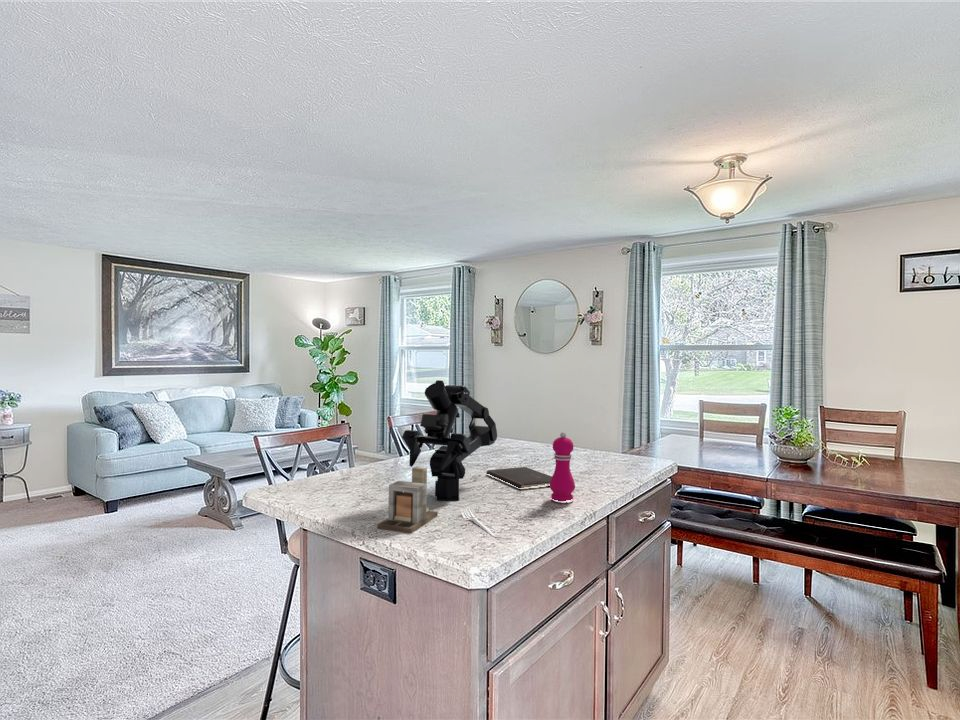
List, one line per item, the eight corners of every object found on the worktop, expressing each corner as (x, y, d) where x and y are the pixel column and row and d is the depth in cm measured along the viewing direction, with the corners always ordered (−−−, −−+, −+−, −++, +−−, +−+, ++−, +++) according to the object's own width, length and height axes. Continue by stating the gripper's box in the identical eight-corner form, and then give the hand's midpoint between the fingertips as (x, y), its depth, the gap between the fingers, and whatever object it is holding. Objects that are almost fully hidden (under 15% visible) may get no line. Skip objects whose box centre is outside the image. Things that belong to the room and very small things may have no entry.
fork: (490, 542, 116) (490, 534, 116) (458, 515, 134) (458, 508, 134) (503, 540, 117) (503, 532, 117) (469, 514, 135) (470, 506, 135)
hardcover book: (525, 473, 188) (525, 466, 188) (562, 487, 167) (562, 480, 167) (486, 476, 181) (486, 470, 181) (520, 492, 160) (520, 484, 160)
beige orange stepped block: (413, 508, 134) (414, 466, 134) (428, 510, 133) (429, 467, 133) (394, 519, 125) (395, 473, 125) (410, 521, 123) (411, 475, 123)
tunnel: (406, 511, 135) (407, 476, 135) (437, 515, 132) (438, 479, 132) (377, 528, 122) (378, 488, 122) (411, 533, 119) (412, 492, 119)
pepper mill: (577, 499, 151) (578, 431, 151) (571, 505, 144) (572, 434, 144) (553, 496, 154) (554, 429, 154) (546, 502, 147) (547, 432, 147)
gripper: (405, 401, 145) (384, 447, 135) (466, 404, 138) (448, 453, 128) (418, 425, 152) (399, 470, 142) (476, 429, 145) (461, 477, 135)
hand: (425, 467), depth 137 cm, fingers open, 9 cm apart
